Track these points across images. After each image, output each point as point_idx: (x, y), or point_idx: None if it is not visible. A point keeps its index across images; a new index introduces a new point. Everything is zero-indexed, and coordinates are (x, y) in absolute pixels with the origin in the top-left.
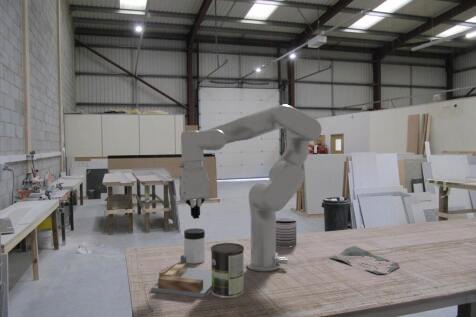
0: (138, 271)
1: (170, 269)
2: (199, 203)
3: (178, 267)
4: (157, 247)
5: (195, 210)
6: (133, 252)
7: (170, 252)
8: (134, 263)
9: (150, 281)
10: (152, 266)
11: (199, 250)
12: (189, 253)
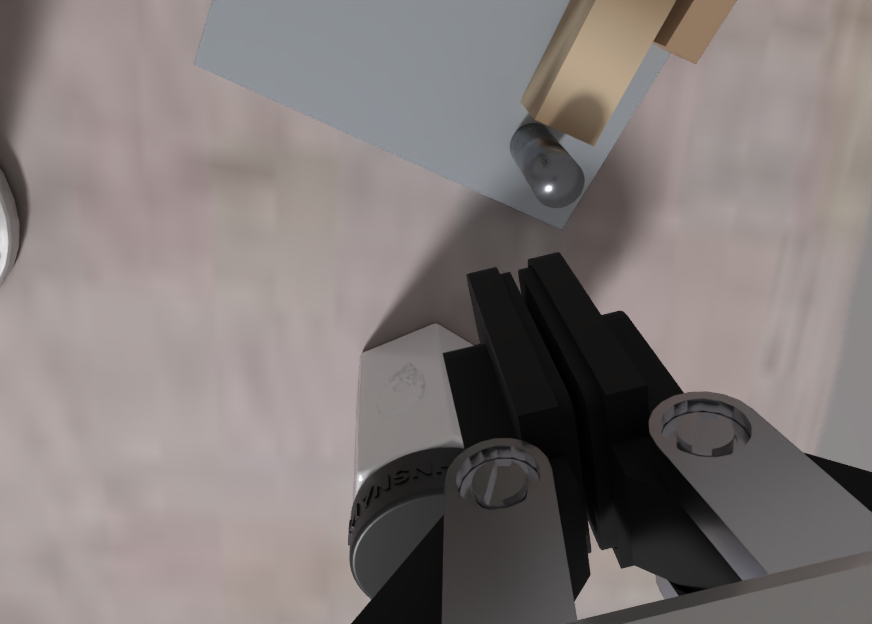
0: (818, 237)
1: None
2: (502, 518)
3: (610, 16)
4: (629, 607)
5: (584, 345)
6: None
7: None
8: (808, 381)
9: (785, 16)
10: (713, 315)
11: (398, 390)
12: None
